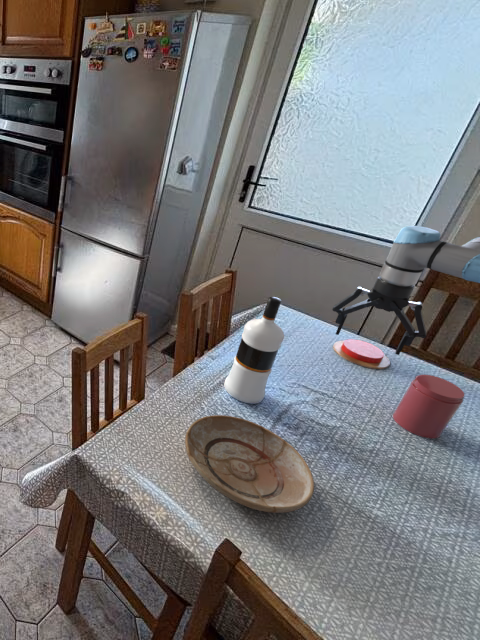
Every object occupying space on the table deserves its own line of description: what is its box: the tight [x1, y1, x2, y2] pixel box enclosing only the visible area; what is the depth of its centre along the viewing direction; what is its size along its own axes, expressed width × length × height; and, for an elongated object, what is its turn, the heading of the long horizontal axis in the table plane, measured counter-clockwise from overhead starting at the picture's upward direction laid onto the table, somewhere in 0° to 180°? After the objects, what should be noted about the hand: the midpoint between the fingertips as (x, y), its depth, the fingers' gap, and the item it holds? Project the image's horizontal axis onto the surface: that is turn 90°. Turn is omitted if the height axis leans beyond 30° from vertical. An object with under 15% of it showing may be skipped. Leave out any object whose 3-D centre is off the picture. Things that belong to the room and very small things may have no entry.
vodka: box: [223, 296, 285, 405], centre depth 106 cm, size 9×9×30 cm
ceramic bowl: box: [184, 414, 315, 514], centre depth 90 cm, size 23×24×5 cm
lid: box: [341, 338, 385, 363], centre depth 125 cm, size 9×9×2 cm
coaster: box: [332, 339, 391, 370], centre depth 125 cm, size 13×13×1 cm
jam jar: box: [392, 374, 465, 440], centre depth 99 cm, size 8×8×12 cm
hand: (366, 342), depth 123 cm, fingers open, 13 cm apart
